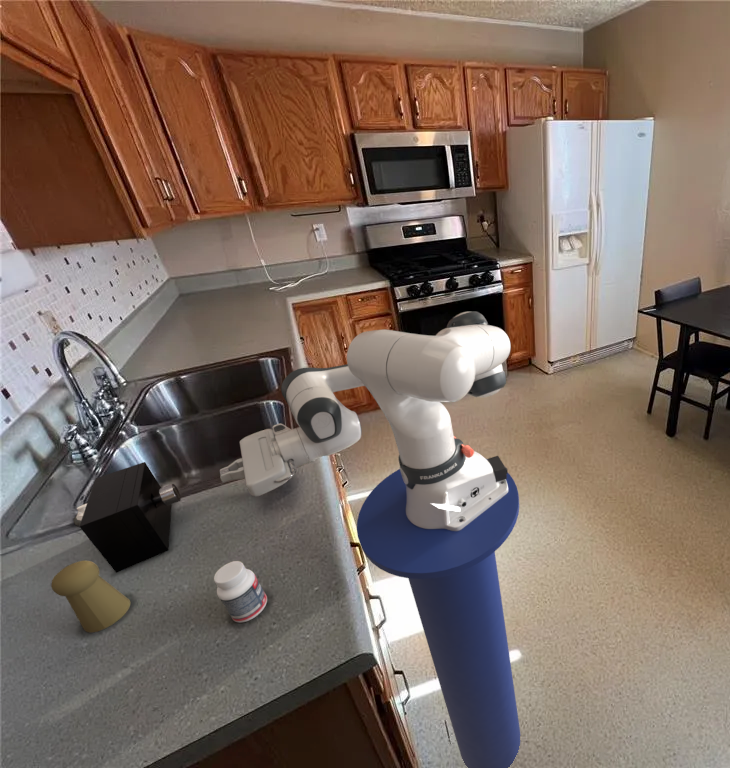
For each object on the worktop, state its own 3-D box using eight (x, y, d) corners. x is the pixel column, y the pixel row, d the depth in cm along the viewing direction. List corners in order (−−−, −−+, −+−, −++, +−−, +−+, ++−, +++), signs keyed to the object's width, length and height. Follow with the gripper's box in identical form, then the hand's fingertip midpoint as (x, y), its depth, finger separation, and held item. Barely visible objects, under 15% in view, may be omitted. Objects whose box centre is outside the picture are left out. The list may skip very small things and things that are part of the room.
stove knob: (75, 513, 92) (67, 504, 90) (117, 496, 96) (110, 487, 94) (73, 531, 87) (65, 521, 85) (118, 512, 91) (111, 502, 89)
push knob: (181, 493, 87) (173, 480, 85) (181, 504, 84) (172, 489, 82) (150, 505, 84) (141, 491, 82) (149, 516, 81) (139, 502, 80)
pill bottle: (272, 606, 68) (252, 570, 64) (237, 630, 65) (213, 593, 60) (262, 587, 71) (242, 551, 67) (228, 608, 68) (205, 573, 64)
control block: (171, 504, 92) (145, 461, 86) (168, 550, 80) (137, 504, 74) (126, 521, 88) (95, 478, 82) (116, 573, 76) (79, 526, 71)
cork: (96, 604, 71) (57, 561, 65) (137, 592, 72) (103, 549, 67) (75, 638, 65) (32, 593, 60) (120, 624, 67) (81, 580, 62)
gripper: (302, 485, 89) (229, 516, 83) (287, 440, 104) (224, 463, 98) (292, 463, 86) (216, 493, 80) (278, 419, 101) (213, 442, 95)
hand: (220, 476), depth 89 cm, fingers closed
